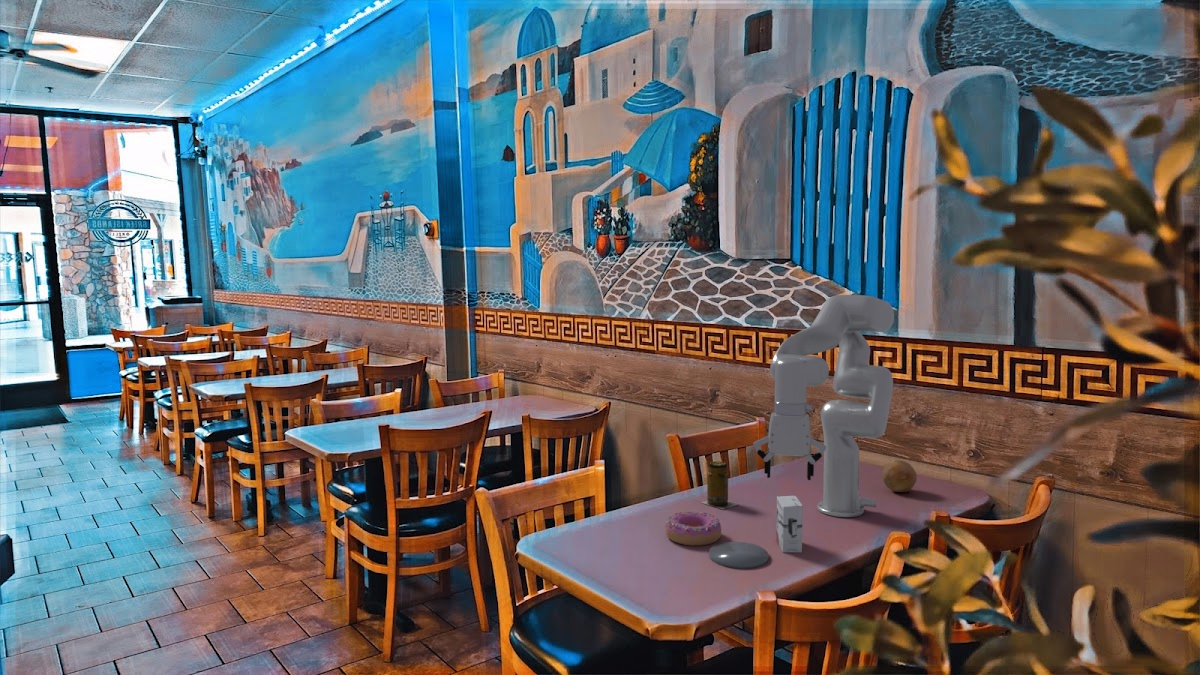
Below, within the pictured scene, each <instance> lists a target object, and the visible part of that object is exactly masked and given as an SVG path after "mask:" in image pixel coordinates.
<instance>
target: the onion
mask: <svg viewBox="0 0 1200 675" xmlns="http://www.w3.org/2000/svg"><path fill="white" fill-rule="evenodd" d="M917 479H918V476H917V472H916V470H915V468H914V467H913V466H912V465H911V463H909V462H907V461H905V460H904V459H892V460H890V461H889V462H888V463H887V464H886V465H885V466H884V468H883V470H882V482H883V483H884V485H885V486H886V487H887V488H888V489H889V490H890V491H892V492H894V493H895V492H896V493H907V492H909V491H911V490H912V489H913V487H914V486H915V484H916V483H917V481H918V480H917Z"/></svg>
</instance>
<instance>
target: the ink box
mask: <svg viewBox="0 0 1200 675" xmlns="http://www.w3.org/2000/svg"><path fill="white" fill-rule="evenodd" d="M803 509H804V507H803V504H802V502H800V500H799V498H798V497H797V496H796V495H787V496H786V495H784V496H783V495H781V496H779V495H778V496H776V531H775V532H776V534H775V536H776V537H775V538H776V542H777V543H778V545H779V547H780V549H781V552H782V553H802V552H803V512H804V511H803Z"/></svg>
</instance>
